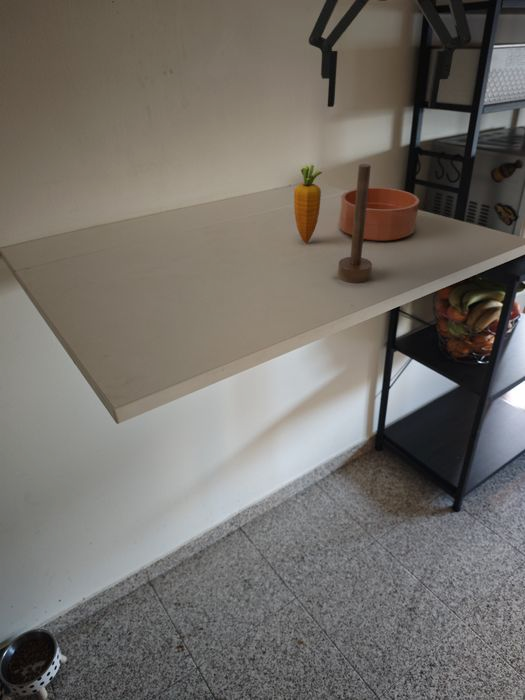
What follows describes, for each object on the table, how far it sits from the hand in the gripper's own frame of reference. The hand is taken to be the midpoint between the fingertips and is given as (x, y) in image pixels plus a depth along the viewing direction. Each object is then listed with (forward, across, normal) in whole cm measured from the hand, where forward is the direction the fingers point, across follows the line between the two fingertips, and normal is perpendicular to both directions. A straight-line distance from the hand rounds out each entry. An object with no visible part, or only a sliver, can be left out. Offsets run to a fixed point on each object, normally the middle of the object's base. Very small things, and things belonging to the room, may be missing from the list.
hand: (380, 106), depth 69 cm
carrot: (+27, +11, -16) cm, 33 cm away
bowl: (+27, -2, -26) cm, 37 cm away
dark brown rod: (+27, +1, -2) cm, 27 cm away
